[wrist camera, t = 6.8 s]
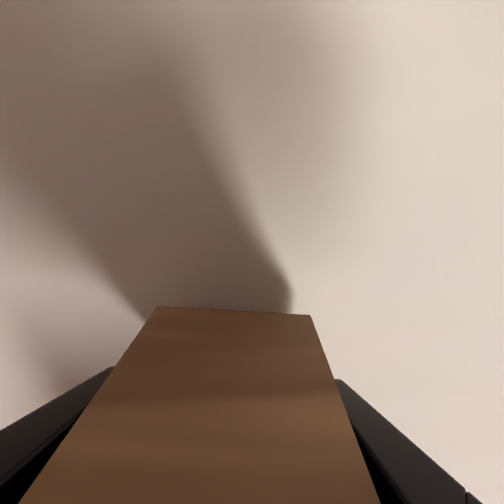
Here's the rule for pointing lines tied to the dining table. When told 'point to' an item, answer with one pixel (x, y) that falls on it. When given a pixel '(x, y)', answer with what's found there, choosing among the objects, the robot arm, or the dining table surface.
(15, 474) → the robot arm
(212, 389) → the domino
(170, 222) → the dining table surface
